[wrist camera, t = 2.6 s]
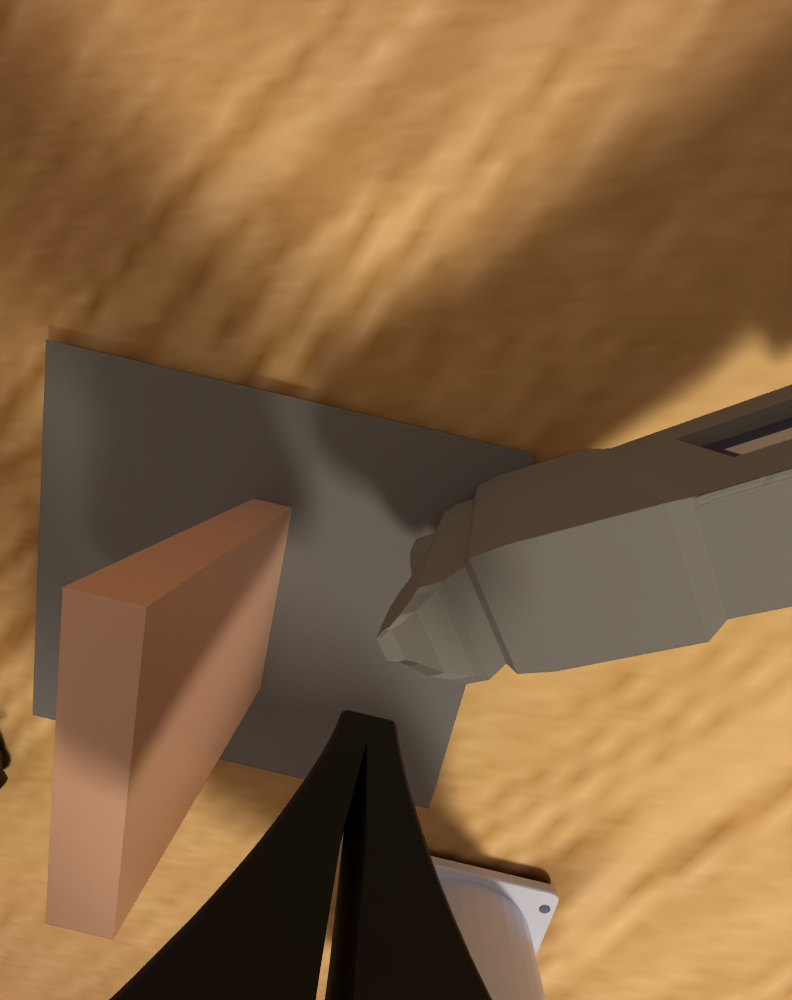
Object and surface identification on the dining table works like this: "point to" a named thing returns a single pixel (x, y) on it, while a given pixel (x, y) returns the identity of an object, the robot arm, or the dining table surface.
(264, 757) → the mat
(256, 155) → the dining table surface
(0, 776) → the door handle
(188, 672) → the tile
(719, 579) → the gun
